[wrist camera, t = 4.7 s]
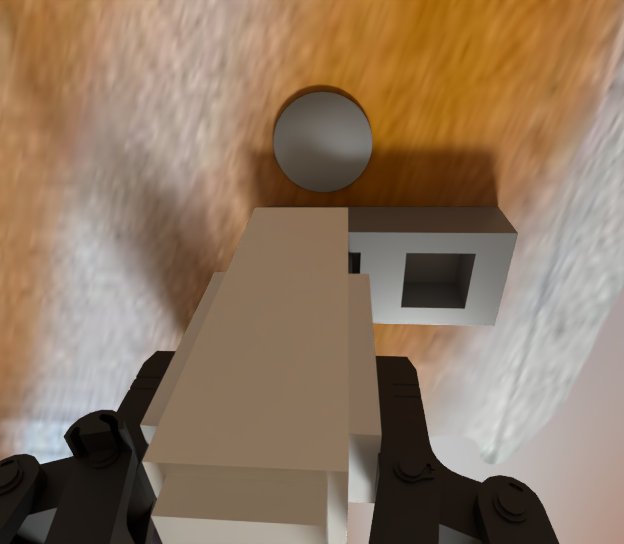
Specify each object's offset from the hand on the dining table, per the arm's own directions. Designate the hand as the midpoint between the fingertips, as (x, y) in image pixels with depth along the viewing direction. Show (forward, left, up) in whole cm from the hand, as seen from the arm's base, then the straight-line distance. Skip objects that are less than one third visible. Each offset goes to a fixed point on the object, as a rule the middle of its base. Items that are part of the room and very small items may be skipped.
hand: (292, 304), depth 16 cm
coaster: (0, 0, -22) cm, 22 cm away
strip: (+10, +5, -22) cm, 25 cm away
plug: (0, 0, -4) cm, 4 cm away
